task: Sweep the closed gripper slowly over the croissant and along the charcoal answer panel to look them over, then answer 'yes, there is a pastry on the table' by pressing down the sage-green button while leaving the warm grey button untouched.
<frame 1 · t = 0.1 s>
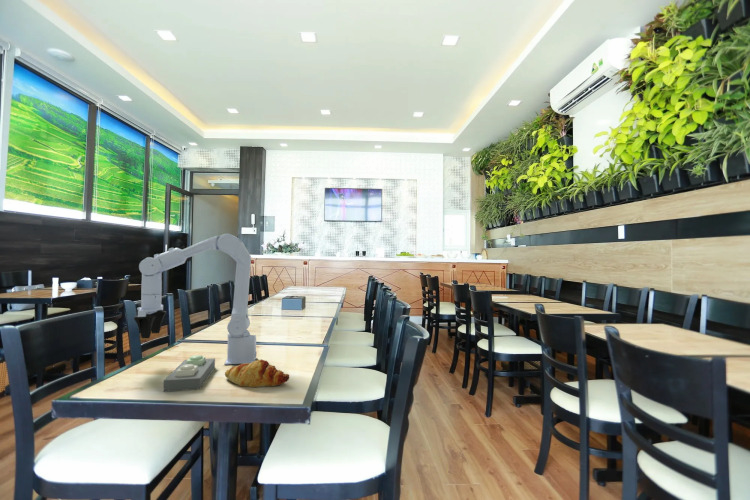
hand: (150, 335, 120), 10 cm above the table, tool pointing down, fingers open, 7 cm apart
croissant: (256, 383, 106), on the table
no button: (187, 372, 103), point 3 cm above the table, slide at 0.0 cm
answer panel: (191, 378, 108), on the table
yes button: (196, 362, 113), point 3 cm above the table, slide at 0.0 cm
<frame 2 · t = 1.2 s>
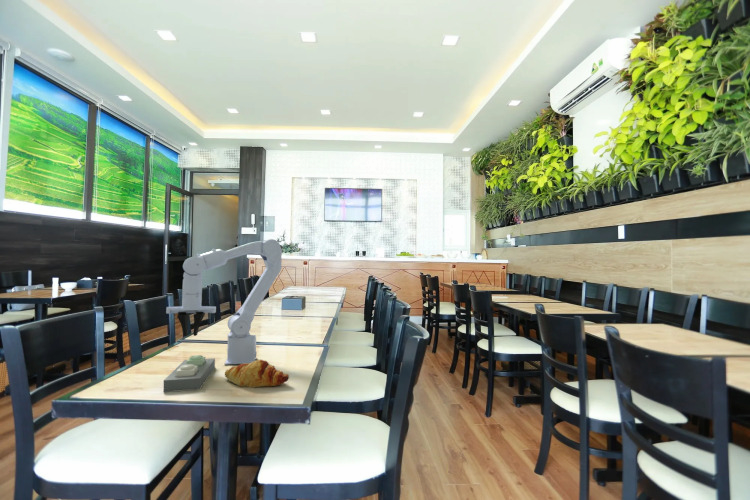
hand: (190, 335, 119), 10 cm above the table, tool pointing down, fingers closed
nothing on the table moved.
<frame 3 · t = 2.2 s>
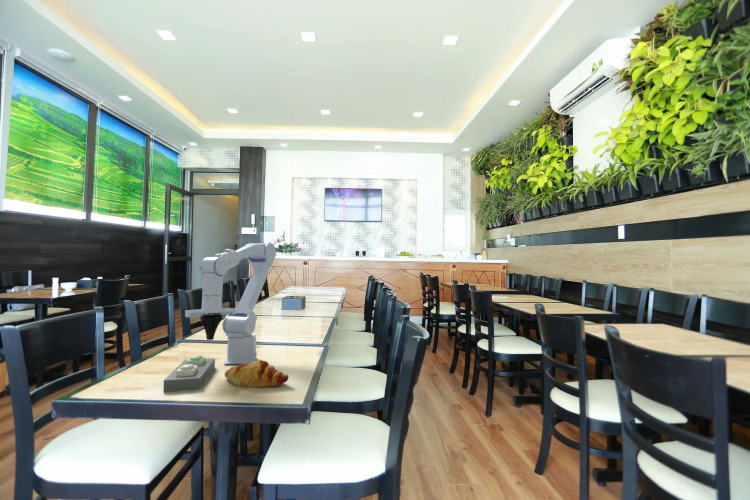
hand: (209, 339, 113), 10 cm above the table, tool pointing down, fingers closed
nothing on the table moved.
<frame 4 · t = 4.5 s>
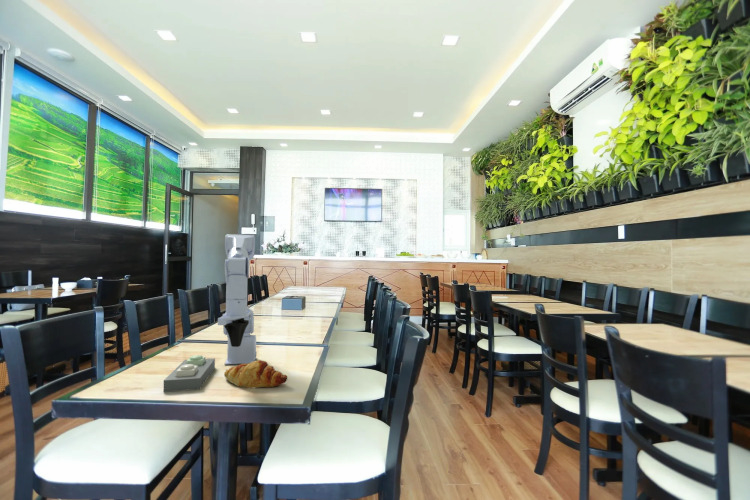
hand: (236, 346, 105), 10 cm above the table, tool pointing down, fingers closed
nothing on the table moved.
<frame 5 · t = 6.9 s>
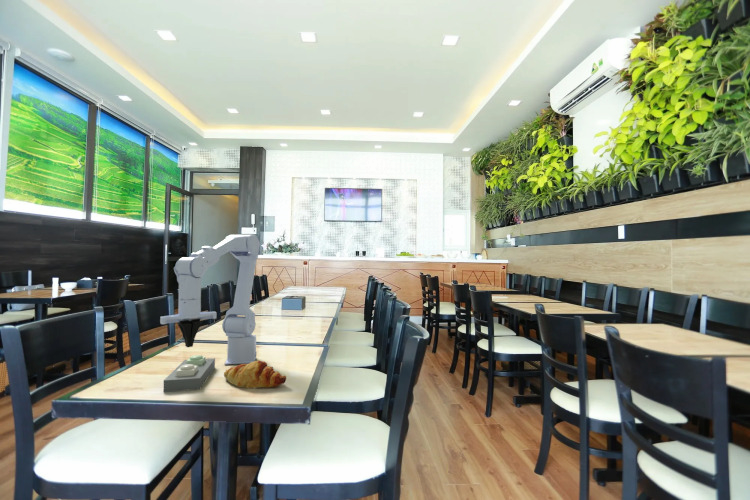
hand: (189, 346, 105), 10 cm above the table, tool pointing down, fingers closed
nothing on the table moved.
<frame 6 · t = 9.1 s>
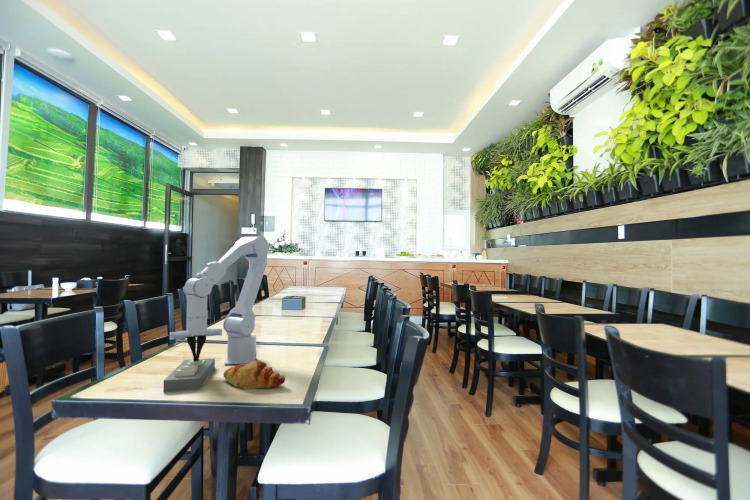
hand: (196, 360, 113), 4 cm above the table, tool pointing down, fingers closed, pressing on yes button
yes button: (196, 366, 113), point 2 cm above the table, slide at 1.2 cm, touching gripper
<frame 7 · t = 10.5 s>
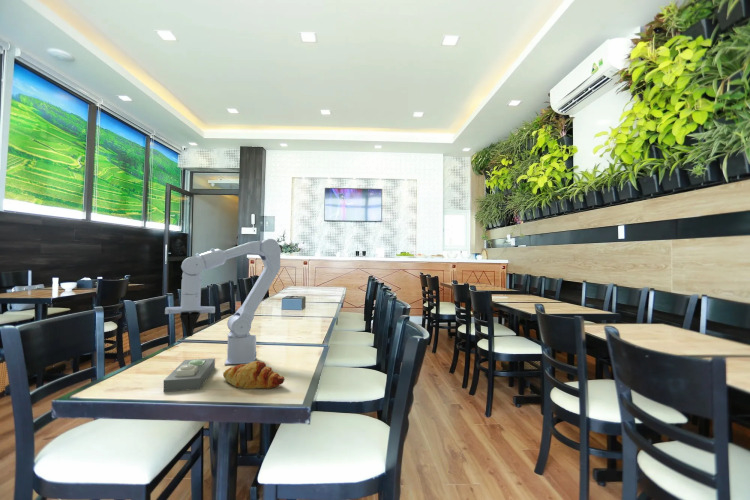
hand: (189, 335, 119), 10 cm above the table, tool pointing down, fingers closed
yes button: (196, 366, 113), point 2 cm above the table, slide at 1.4 cm
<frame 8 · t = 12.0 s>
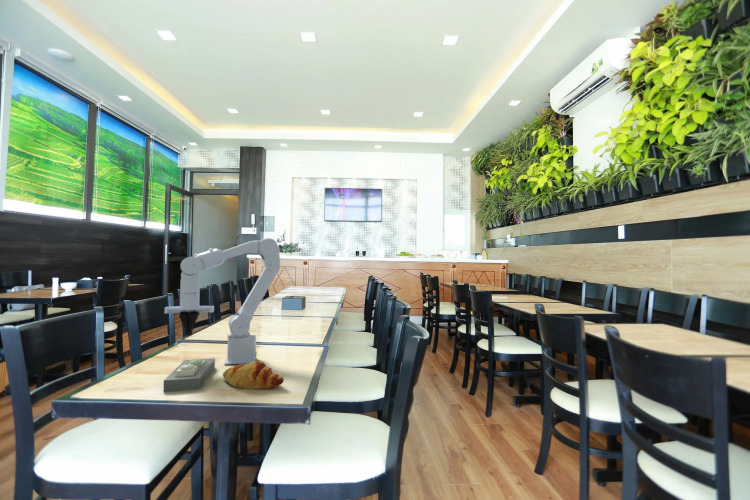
hand: (189, 334, 120), 10 cm above the table, tool pointing down, fingers closed
at the end: yes button slide at 1.4 cm; no button slide at 0.0 cm; croissant moved 1.6 cm from its start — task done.
